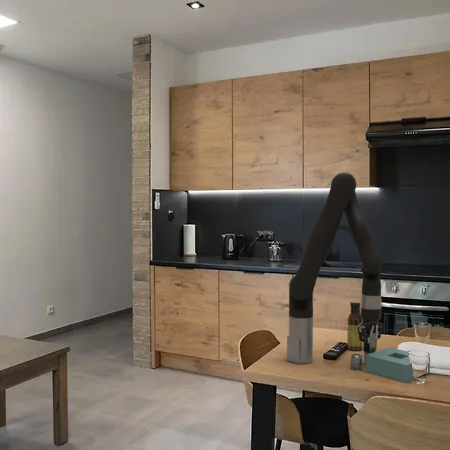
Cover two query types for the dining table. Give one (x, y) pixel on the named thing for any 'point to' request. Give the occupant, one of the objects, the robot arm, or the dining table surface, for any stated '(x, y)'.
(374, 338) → the long pin
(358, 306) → the sauce bottle
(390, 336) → the dining table surface
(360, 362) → the short pin
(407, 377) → the hole block
